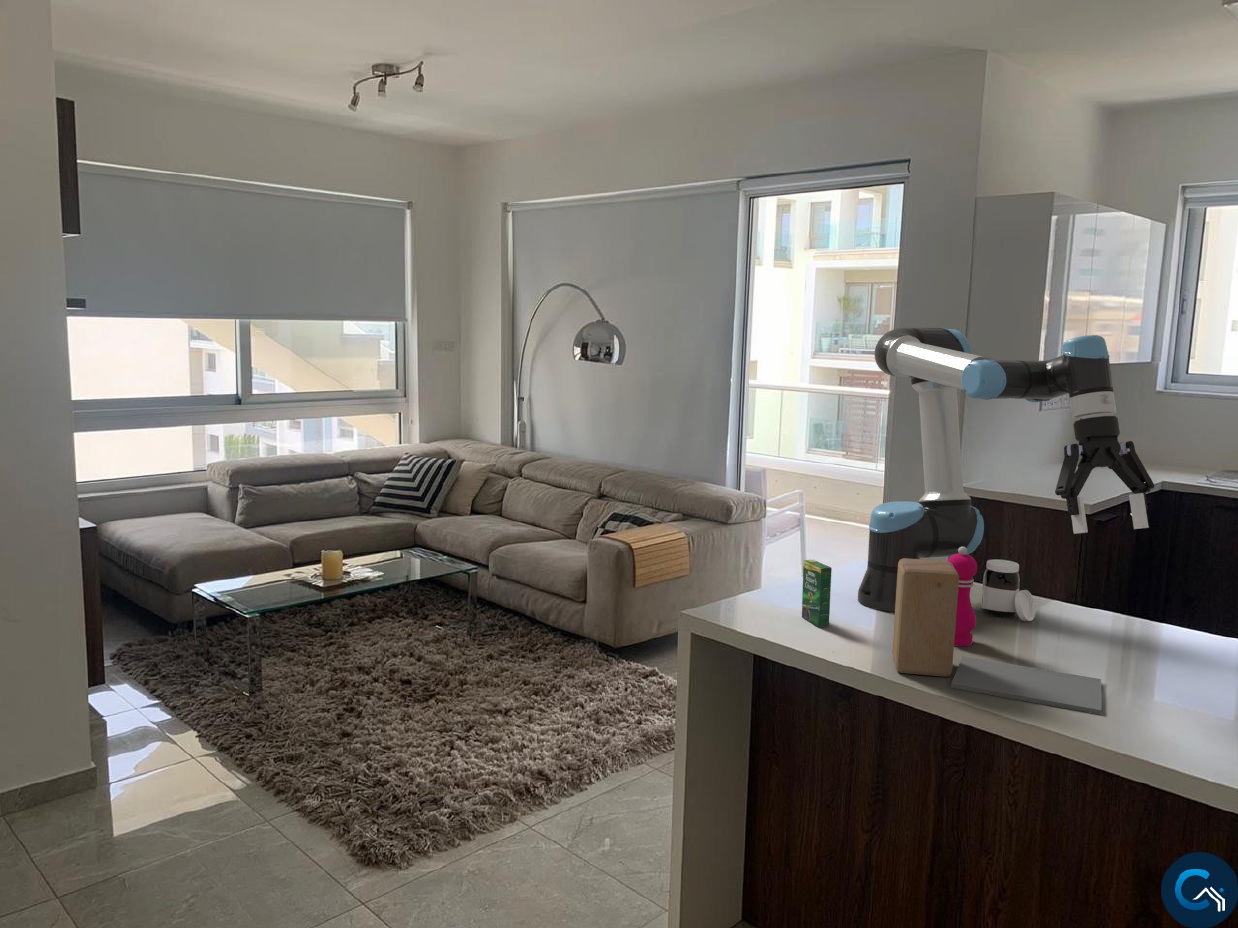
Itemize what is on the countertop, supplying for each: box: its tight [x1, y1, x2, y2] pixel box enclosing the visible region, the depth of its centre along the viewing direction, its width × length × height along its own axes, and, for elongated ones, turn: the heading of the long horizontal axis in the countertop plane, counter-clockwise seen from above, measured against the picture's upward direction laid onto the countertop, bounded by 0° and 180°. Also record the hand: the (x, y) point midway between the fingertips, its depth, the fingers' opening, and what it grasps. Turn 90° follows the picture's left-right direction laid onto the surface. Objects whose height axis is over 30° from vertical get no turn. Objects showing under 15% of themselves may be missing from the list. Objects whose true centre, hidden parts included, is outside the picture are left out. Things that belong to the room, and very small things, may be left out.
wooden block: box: [891, 558, 959, 678], centre depth 177 cm, size 10×10×20 cm
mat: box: [950, 655, 1103, 715], centre depth 170 cm, size 16×24×1 cm, turn 64°
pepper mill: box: [946, 547, 978, 647], centre depth 192 cm, size 7×7×20 cm
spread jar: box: [980, 559, 1036, 622], centre depth 211 cm, size 12×11×12 cm
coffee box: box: [801, 559, 832, 628], centre depth 203 cm, size 8×3×13 cm, turn 17°
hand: (1111, 530), depth 174 cm, fingers open, 13 cm apart
